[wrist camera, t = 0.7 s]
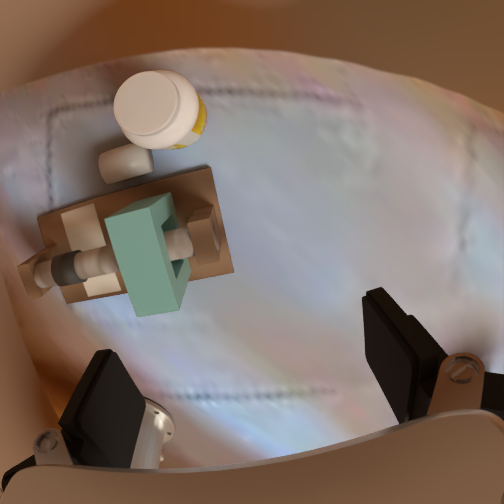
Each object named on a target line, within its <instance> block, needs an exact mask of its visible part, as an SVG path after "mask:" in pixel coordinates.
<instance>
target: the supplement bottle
mask: <svg viewBox="0 0 504 504" xmlns="http://www.w3.org/2000/svg"><path fill="white" fill-rule="evenodd" d="M113 110H114V115H115V118H116V120H117V122H118V124H119V125H120V128H121V130H122V132H123V133H124V135H125V136H126V137H127V138H128V139H129V140H130V141H131V142H132V143H134V144H136V145H138V146H140V147H143V148H146V149H181V148H185V147H187V146H190V145H191V144H193V143H194V142H196V141H197V140H198V139H199V138H200V137H201V135H202V134H203V132H204V130H205V128H206V125H207V118H208V116H207V110H206V106H205V104H204V102H203V101H202V99H201V98H200V96H199V95H198V93H197V92H196V90H195V89H194V87H193V86H192V84H191V83H190V82H189V81H188V80H187V79H186V78H185V77H183V76H182V75H180V74H178V73H176V72H173V71H168V70H155V71H145V72H140V73H137V74H135V75H133V76H131V77H130V78H128V79H127V80H126V81H125V82H124V83H123V84H122V85H121V86H120V88H119V89H118V91H117V93H116V96H115V99H114V104H113Z"/></svg>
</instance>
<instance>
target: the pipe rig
mask: <svg viewBox="0 0 504 504" xmlns="http://www.w3.org/2000/svg"><path fill="white" fill-rule="evenodd" d="M168 192H171V194H172V198H173V202H174V206H175V210H176V214H177V218H178V222H179V226H180V228H178V229H174V230H169V231H165V232H163V235H164V239H165V242H166V246H167V250H168V253H169V257H170V260H171V261H173V260H177V259H182V258H187V257H188V261H189V264H190V268H191V274H190V277H189V280H188V281H193V280H198V279H203V278H208V277H214V276H219V275H224V274H229V273H234V269H233V265H232V261H231V256H230V252H229V248H228V243H227V239H226V234H225V230H224V225H223V221H222V216H221V212H220V207H219V203H218V198H217V194H216V189H215V184H214V180H213V175H212V170H211V167H210V168H206V169H201V170H197V171H193V172H188V173H184V174H180V175H176V176H172V177H168V178H164V179H160V180H156V181H153V182H149V183H145V184H141V185H138V186H134V187H131V188H127V189H124V190H120V191H117V192H113V193H110V194H107V195H103V196H100V197H97V198H94V199H91V200H88V201H84V202H81V203H78V204H75V205H72V206H69V207H66V208H63V209H61V210H58V211H55V212H52V213H49V214H46V215H44V216H41V217H38V218H37V220H38V223H39V227H40V230H41V234H42V237H43V240H44V243H45V246H46V248H45V249H43V250H42V251H40V252H39V253H37V254H35V255H34V256H32V257H31V258H29V259H28V260H26V261H25V262H23V263H22V264H20V265H19V266H17V268H18V271H19V274H20V276H21V279H22V282H23V284H24V287H25V289H26V292H27V294H28V297H29V299H34V298H39V297H42V296H43V295H44V294H45V293H46V292H47V291H49V290H50V289H51V288H52V287H53V286H55V285H58V286H60V288H61V291H62V293H63V296H64V298H65V301H66V303H67V304H69V303H75V302H81V301H86V300H92V299H97V298H103V297H108V296H114V295H119V294H125V293H128V292H127V289H126V286H125V283H124V280H123V277H122V275H121V272H120V269H119V266H118V263H117V260H116V256H115V253H114V250H113V247H112V244H111V240H110V237H109V234H108V230H107V227H106V223H105V220H104V219H105V218H107V217H109V216H110V215H112V214H114V213H115V212H117V211H119V210H121V209H122V208H124V207H126V206H128V205H130V204H131V203H133V202H135V201H137V200H141V199H145V198H149V197H153V196H156V195H160V194H164V193H168Z"/></svg>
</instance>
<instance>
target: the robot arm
mask: <svg viewBox="0 0 504 504" xmlns="http://www.w3.org/2000/svg"><path fill="white" fill-rule="evenodd" d="M362 306H363V320H364V337H365V355H366V359H367V362H368V364H369V366H370V368H371V370H372V372H373V373H374V375H375V377H376V379H377V381H378V383H379V385H380V387H381V389H382V391H383V393H384V395H385V396H386V398H387V400H388V402H389V404H390V406H391V408H392V410H393V412H394V414H395V416H396V418H397V420H398V422H399V425H395V426H392V427H389V428H386V429H383V430H380V431H377V432H374V433H371V434H368V435H365V436H362V437H358V438H355V439H351V440H348V441H344V442H341V443H337V444H333V445H330V446H326V447H322V448H318V449H314V450H310V451H305V452H301V453H296V454H292V455H287V456H281V457H276V458H270V459H265V460H258V461H252V462H245V463H237V464H229V465H219V466H209V467H195V468H174V469H159V463H160V461H162V460H164V456H163V455H162V453H161V451H162V445H163V444H164V443H166V442H168V441H169V440H171V439H172V437H173V436H174V432H175V424H174V421H173V419H172V417H171V416H170V415H169V413H168V412H167V411H166V410H164V409H163V408H162V407H160V406H159V405H157V404H156V403H154V402H152V401H150V400H147V399H145V398H144V397H143V396H142V394H141V393H140V391H139V390H138V388H137V386H136V385H135V383H134V382H133V380H132V378H131V377H130V375H129V373H128V372H127V370H126V368H125V367H124V365H123V363H122V362H121V360H120V358H119V356H118V355H117V353H116V352H113V351H112V350H111V349H105V350H98V351H96V353H95V354H94V356H93V358H92V360H91V361H90V363H89V365H88V367H87V369H86V370H85V372H84V374H83V376H82V378H81V380H80V381H79V383H78V385H77V387H76V389H75V391H74V393H73V395H72V397H71V399H70V400H69V402H68V404H67V406H66V408H65V410H64V412H63V414H62V416H61V418H60V420H59V423H58V424H59V425H60V426H61V427H62V430H61V432H60V431H59V430H58V429H54V428H50V429H47V430H44V431H43V432H42V433H40V434H39V435H38V436H37V438H36V439H35V441H34V444H33V450H34V455H32V456H31V457H29V458H28V459H26V460H24V461H23V462H21V463H20V464H18V465H16V466H14V467H13V468H11V469H10V470H8V471H7V472H5V474H4V476H3V479H2V489H1V488H0V504H504V374H497V373H490V372H485V370H484V365H483V363H482V361H481V360H480V359H479V358H478V357H476V356H474V355H472V354H469V353H456V354H452V355H450V356H448V355H447V354H446V353H445V351H444V350H443V349H442V348H441V347H440V346H439V344H438V343H437V342H436V341H435V340H434V338H433V337H432V336H431V335H430V334H429V333H428V332H427V330H426V329H425V328H424V327H423V326H422V325H421V324H420V322H419V321H418V320H417V319H416V318H415V317H414V316H413V315H408V316H407V314H406V313H405V312H404V311H403V310H402V309H401V308H400V306H399V305H398V304H397V303H396V302H395V301H394V300H393V299H392V297H391V296H390V295H389V294H388V293H387V292H386V291H385V290H384V288H382V287H379V288H376V289H373V290H369V291H367V292H366V296H363V297H362Z"/></svg>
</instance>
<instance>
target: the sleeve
mask: <svg viewBox="0 0 504 504" xmlns="http://www.w3.org/2000/svg"><path fill="white" fill-rule="evenodd" d="M98 163H99V170H100V174H101V176H102V178H103V180H104V181H105V183H107V184H112V183H115V182H119V181H122V180H125V179H129V178H132V177H136V176H139V175H143V174H146V173H150V172H153V168H154V163H153V157H152V152H151V149H146V148H143V147H140V146H138V145H136V144H134V143H130V144H127V145H124V146H120V147H117V148H114V149H111V150H108V151H105V152H103V153H101V154H100V155H99V162H98Z"/></svg>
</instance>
